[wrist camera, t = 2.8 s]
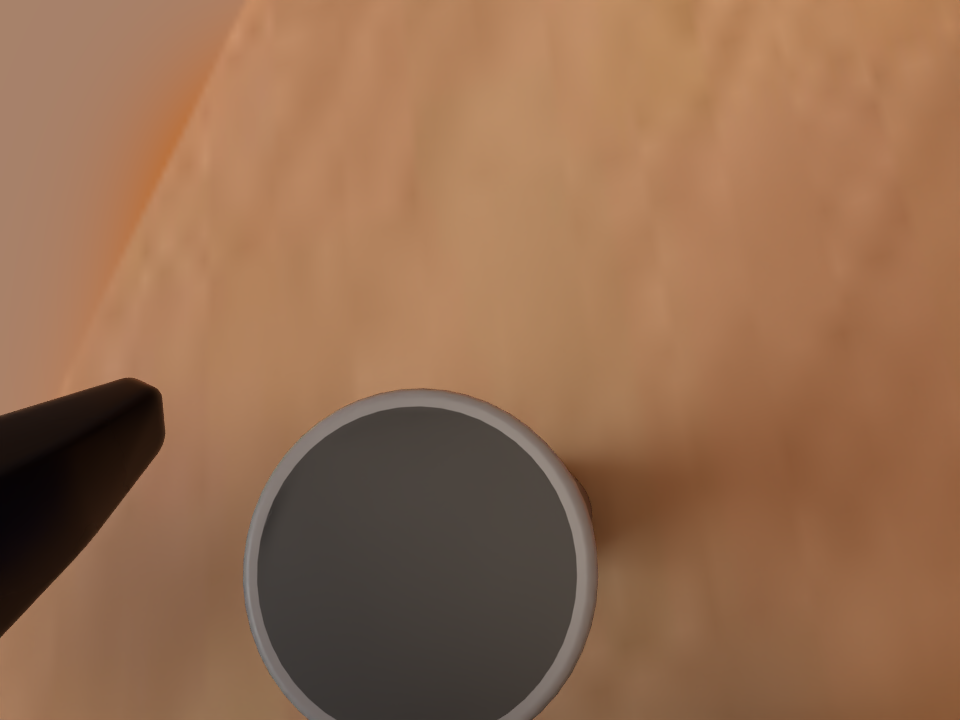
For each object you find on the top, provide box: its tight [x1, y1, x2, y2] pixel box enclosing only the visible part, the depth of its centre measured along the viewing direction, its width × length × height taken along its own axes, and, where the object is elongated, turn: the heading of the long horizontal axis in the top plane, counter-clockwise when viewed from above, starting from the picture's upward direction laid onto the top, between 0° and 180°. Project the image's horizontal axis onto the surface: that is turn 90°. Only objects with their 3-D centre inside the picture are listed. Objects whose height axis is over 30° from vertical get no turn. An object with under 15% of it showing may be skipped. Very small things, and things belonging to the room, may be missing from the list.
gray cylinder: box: [243, 388, 598, 720], centre depth 11 cm, size 2×2×12 cm
